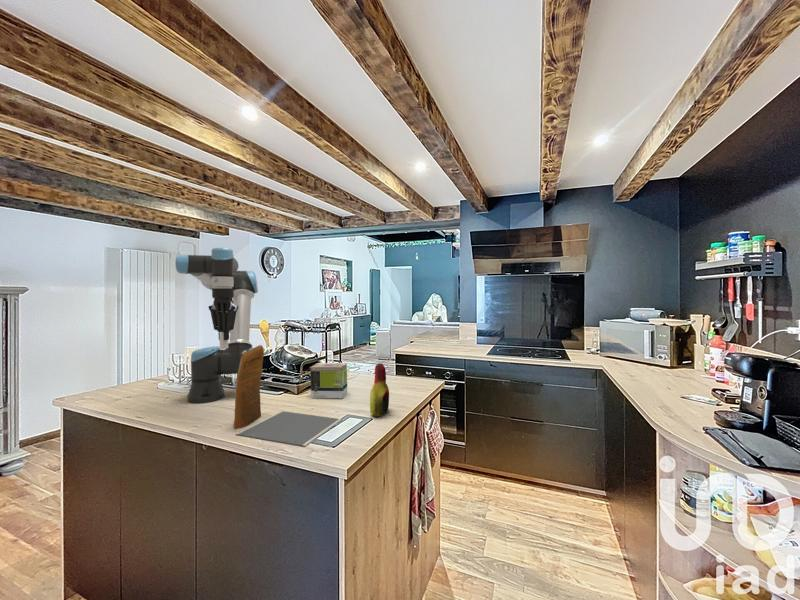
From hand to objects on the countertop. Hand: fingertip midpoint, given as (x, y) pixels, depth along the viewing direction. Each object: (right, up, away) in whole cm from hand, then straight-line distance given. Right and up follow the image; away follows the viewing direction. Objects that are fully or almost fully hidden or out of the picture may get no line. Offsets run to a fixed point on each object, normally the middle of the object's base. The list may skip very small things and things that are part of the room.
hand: (224, 348), depth 136 cm
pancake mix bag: (+11, -28, -3) cm, 30 cm away
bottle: (+61, -27, +5) cm, 67 cm away
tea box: (+35, -27, +29) cm, 53 cm away
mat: (+29, -27, -9) cm, 41 cm away
